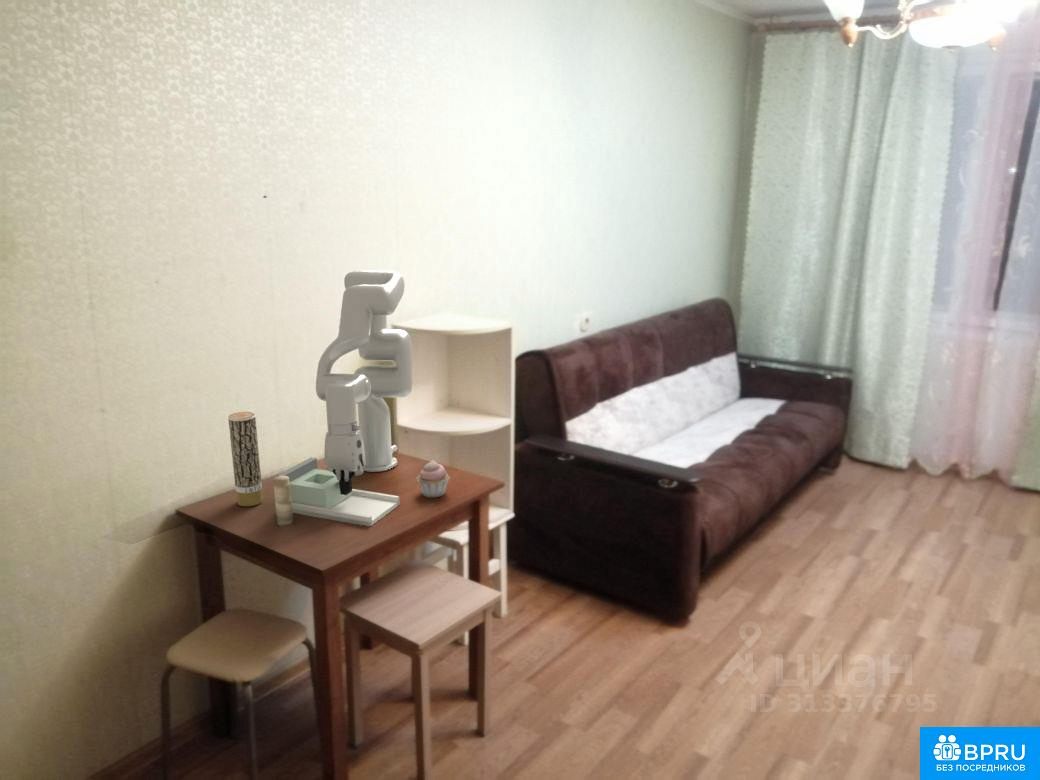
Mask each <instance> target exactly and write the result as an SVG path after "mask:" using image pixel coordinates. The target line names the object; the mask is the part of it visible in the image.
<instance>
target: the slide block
mask: <svg viewBox="0 0 1040 780" xmlns="http://www.w3.org/2000/svg"><path fill="white" fill-rule="evenodd" d="M290 492H291V502H293V503H299V504H304V505H310V506H316V507H322V508H328V509H331V508H332V507H334V506H335V505H337V504H338V503H340V502H341V501H343V500H344V499H346V498H348V497H349V496H351V495H352V492H350V493H349V494H347V495H344V494H343V495H341V494H340V487H339V480H337V477H336V475H335V474H334V473H333V472H330V471H328V470H327V469H321V468H318V469H313V470H311V471H309V472H307V473H305V474H303V475H302V476H300V477H298V478H296V479H294V480H293V481H291V482H290Z"/></svg>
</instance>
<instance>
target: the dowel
mask: <svg viewBox="0 0 1040 780" xmlns="http://www.w3.org/2000/svg"><path fill="white" fill-rule="evenodd" d="M272 485H273V495H274V505H275V514H276V523H277V525H279V526H288V525H290V524H293V523H294V515H293V514H294V513H292V502H291V492H290V482H289V477H288V476H278V477H277V476H275V477H274V478H272Z"/></svg>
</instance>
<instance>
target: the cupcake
mask: <svg viewBox="0 0 1040 780" xmlns="http://www.w3.org/2000/svg"><path fill="white" fill-rule="evenodd" d="M416 480H417V482H418V483H419V486H420V490H421V493H422V495H423V496H424V497H427V498H430V499H431V498H433V499H434V498H440V497H442V496H444V495H445V494H446V490H447V485H448V483H449V480H450V476H449V474H448V473H447V471H446V469H445V467H444V466H443V465H442V464H439V463H438V462H436V460H434V459H432V460H430V461H429V462H428V463H425V465H424V466H423V469H421V470H420V474H419V475H418V476H417V477H416Z"/></svg>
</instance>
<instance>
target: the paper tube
mask: <svg viewBox="0 0 1040 780" xmlns="http://www.w3.org/2000/svg"><path fill="white" fill-rule="evenodd" d="M227 416H228V429H229V436H230V437H229V439H230V448H231V458H232V467H233V469H232V470H233V479H234V485H235V486H234V487H235V496H236V504H238V505H239V506H241V507H254V506H257V505H260V504H261V503H262V502H263V500H264V496H263V484H262V474H261V464H260V463H261V462H260V452H259V450H260V449H259V440H258V439H259V438H258V432H257V431H258V430H257V420H256V419H257V417H256V413H255V412H253V411H240V412H235V413H234V412H233V413H231V414H228V415H227Z"/></svg>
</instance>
